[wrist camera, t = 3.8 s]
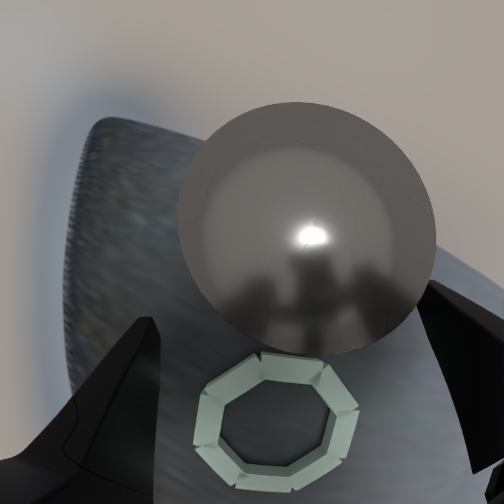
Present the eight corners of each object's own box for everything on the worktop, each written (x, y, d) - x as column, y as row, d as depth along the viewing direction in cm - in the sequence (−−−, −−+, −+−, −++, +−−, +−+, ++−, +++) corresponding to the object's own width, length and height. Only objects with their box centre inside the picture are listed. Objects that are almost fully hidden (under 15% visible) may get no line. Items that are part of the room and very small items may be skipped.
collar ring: (370, 427, 15) (379, 433, 14) (256, 499, 14) (257, 510, 12) (295, 323, 17) (299, 324, 16) (169, 405, 16) (163, 412, 14)
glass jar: (324, 295, 18) (468, 243, 5) (257, 344, 17) (291, 414, 4) (276, 229, 19) (327, 78, 6) (209, 275, 18) (132, 177, 5)
